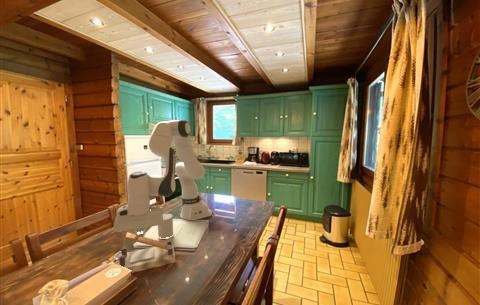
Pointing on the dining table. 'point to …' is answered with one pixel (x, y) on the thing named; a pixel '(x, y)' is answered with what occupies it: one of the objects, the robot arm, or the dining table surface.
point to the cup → (166, 226)
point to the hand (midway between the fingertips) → (140, 236)
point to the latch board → (146, 258)
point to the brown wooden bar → (147, 241)
